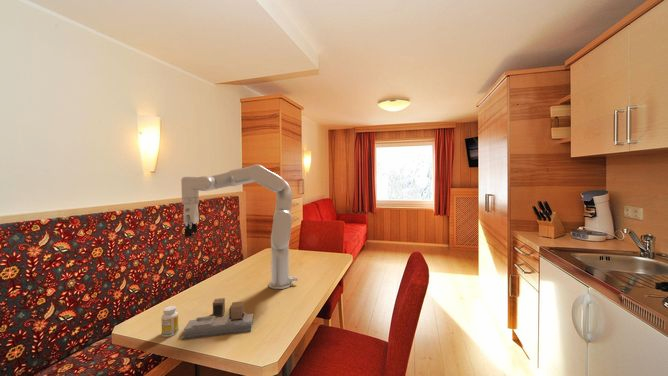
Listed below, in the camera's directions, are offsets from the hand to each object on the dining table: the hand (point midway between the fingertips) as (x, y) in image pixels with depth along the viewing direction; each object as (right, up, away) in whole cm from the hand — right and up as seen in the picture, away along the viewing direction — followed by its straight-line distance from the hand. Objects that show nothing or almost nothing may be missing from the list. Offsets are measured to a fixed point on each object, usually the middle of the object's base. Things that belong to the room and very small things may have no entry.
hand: (191, 234), depth 132 cm
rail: (+28, -31, -30) cm, 52 cm away
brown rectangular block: (+23, -31, -20) cm, 43 cm away
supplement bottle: (+10, -32, -33) cm, 47 cm away
